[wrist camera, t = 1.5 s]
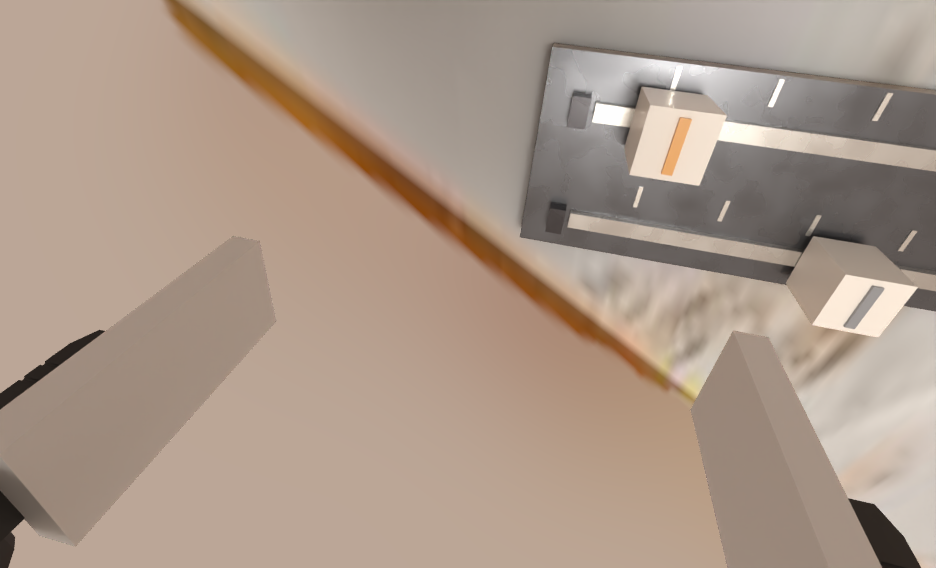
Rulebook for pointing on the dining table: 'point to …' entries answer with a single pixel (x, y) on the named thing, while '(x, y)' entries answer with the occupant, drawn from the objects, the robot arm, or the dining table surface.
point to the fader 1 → (672, 135)
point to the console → (737, 168)
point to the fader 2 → (849, 286)
